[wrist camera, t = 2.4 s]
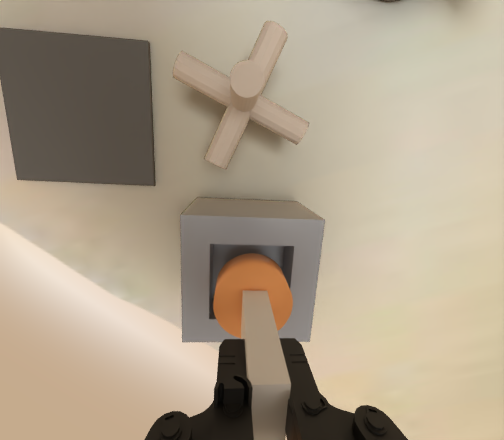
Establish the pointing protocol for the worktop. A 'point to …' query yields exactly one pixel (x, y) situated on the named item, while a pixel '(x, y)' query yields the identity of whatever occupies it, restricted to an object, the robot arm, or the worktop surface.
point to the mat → (78, 107)
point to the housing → (243, 242)
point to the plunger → (250, 278)
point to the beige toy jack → (242, 94)
